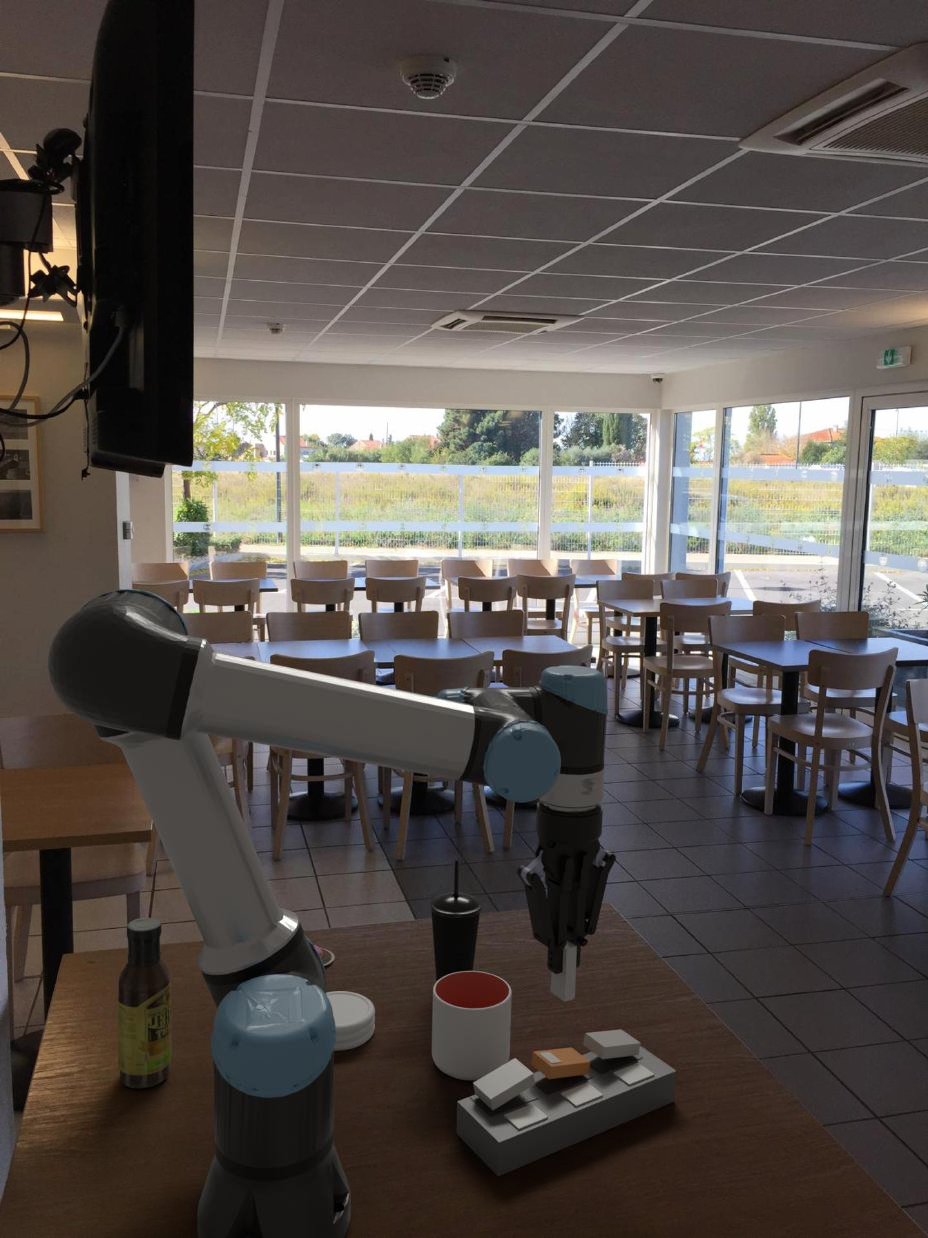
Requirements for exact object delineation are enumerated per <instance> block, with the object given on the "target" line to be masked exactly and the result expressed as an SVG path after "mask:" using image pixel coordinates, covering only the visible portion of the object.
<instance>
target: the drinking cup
mask: <svg viewBox="0 0 928 1238" xmlns="http://www.w3.org/2000/svg"><path fill="white" fill-rule="evenodd" d="M453 863H454V865H453V867H454V868H453V873H454V875H453V891H450V892H446V893H441V894H439V895H435V896H434V897H432V898H431V899H430V900H429V903H428V908H429V910H430V911H431V924H432V936H433V951H434V965H435V967H434V968H435V981H436V982H437V981H438V980H439V979H441V978H442V977H444V976H446V975H449V974H452V973H456V972H462V971H474V965H475V964H474V963H475V957H476V948H477V947H476V946H477V938H478V930H479V923H480V922H479V921H480V915H481V914H480V913H481V912H482V911H483V902H482V900H481V899H479V897H477V896H475V895H472V894H468V893H465V892H461V891H459V884H460V883H459V881H460V860H458V859H455V860H454V862H453ZM436 982H435V983H436Z"/></svg>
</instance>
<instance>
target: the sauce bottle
mask: <svg viewBox="0 0 928 1238" xmlns="http://www.w3.org/2000/svg"><path fill="white" fill-rule="evenodd" d="M162 932H163V931H162V922H161V920H160V919H157V918H154V917H140V918H136V919H133V920H132V921H130V922H129V923H128V924H127V927H126V937H127V941H128V952H127V953H128V954H127V963H126V964H125V966H124V968H123V969H122V970H121V972H120V976H119V978H118V996H117V1048H118V1049H117V1050H118V1051H117V1052H118V1053H117V1054H118V1055H117V1059H118V1060H117V1062H118V1063H117V1064H118V1069H119V1080H120V1082H121V1084H122V1085H123V1086H125V1087H128V1088H131V1089H144V1088H151V1087H154V1086H157V1085H158V1084H160V1083H161V1082H163V1081H165V1080H167V1078H168V1077H169V1075H170V1072H171V1071H170V1070H171V1064H170V1063H171V1061H172V981H171V973H170V971H169V969H168V967H167V965H166V964H165V963H164V961H163V960H162V958H161V956H162V955H161V954H162V953H161V934H162Z"/></svg>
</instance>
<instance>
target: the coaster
mask: <svg viewBox="0 0 928 1238" xmlns="http://www.w3.org/2000/svg"><path fill="white" fill-rule="evenodd" d="M326 995H327V997H328V999H329V1000H330V1003H331V1006H332V1010H333V1016H334V1020H335V1026H336V1041H335V1045H334V1052H337V1051H338V1052H339V1051H347V1050H351V1049H354V1048H357V1047H361V1046H362V1045H364V1044H365V1043H366V1042H368V1041H369V1040H370V1039H371V1038H372V1036H373V1035H374V1032H375V1028H376V1026H375V1025H376V1024H375V1022H376V1016H375V1014H376V1009H375V1005H374V1003H373V1002H372V1001H371V1000H370V999H368V997H366V996H364V995H362V994H360V993H357V992H352V991H346V990H345V991H343V990H340V991H338V990H337V991H335V990H334V991H328V992H326Z"/></svg>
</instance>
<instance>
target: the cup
mask: <svg viewBox="0 0 928 1238" xmlns="http://www.w3.org/2000/svg"><path fill="white" fill-rule="evenodd" d="M512 992H513V991H512V988H511V986H510V985H509V983H508V982H507V981H505V980H504V979H503V978H501V977H500V976H498V975H496V974H492V973H489V972H485V971H479V970H478V971H477V970H473V971H462V972H456V973H452V974H449V975H446V976H444V977H442V978H441V979H439V980H438V981H437V982H435V983H434V985H433V988H432V1015H431V1016H432V1021H431V1026H432V1027H431V1029H432V1030H431V1056H432V1060H433V1062H434V1064H435V1065H436V1068H438V1069H439V1070H440V1071H441V1072H442V1073H443V1074H446V1075H447V1076H449V1077H452V1078H454V1079H457V1080H462V1081H477V1080H479V1079H480V1078H482V1077H484V1076H486V1075H487V1074H489V1073H491V1072H492V1071H494V1070H496V1069H497V1068H499V1067H501V1066H502V1065H504V1064H506V1063H508V1062H509V1061H510V1053H511V1051H510V1050H511V1019H512V995H513V993H512Z"/></svg>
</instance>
